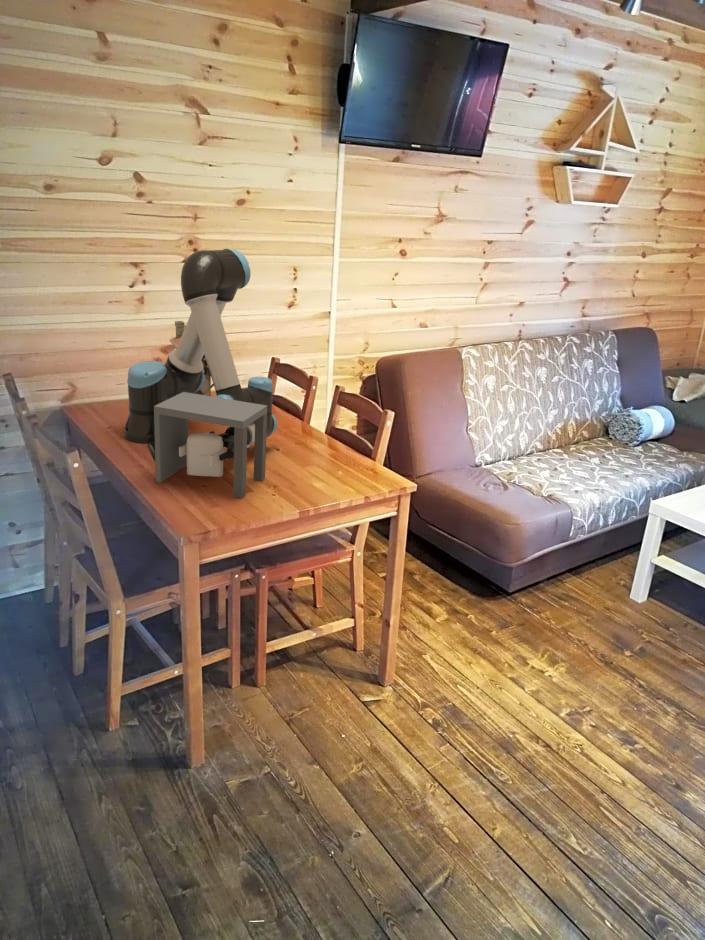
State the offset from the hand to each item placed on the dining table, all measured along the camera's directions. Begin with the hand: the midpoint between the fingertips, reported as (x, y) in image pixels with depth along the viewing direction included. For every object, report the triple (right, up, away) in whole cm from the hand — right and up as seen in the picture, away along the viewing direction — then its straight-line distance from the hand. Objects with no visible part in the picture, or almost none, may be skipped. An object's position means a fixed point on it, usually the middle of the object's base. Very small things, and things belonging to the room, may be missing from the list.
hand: (195, 456), depth 199 cm
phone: (-15, +1, +23) cm, 28 cm away
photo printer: (+1, -5, +6) cm, 8 cm away
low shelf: (+3, -7, +6) cm, 10 cm away
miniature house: (-15, +19, +66) cm, 70 cm away
